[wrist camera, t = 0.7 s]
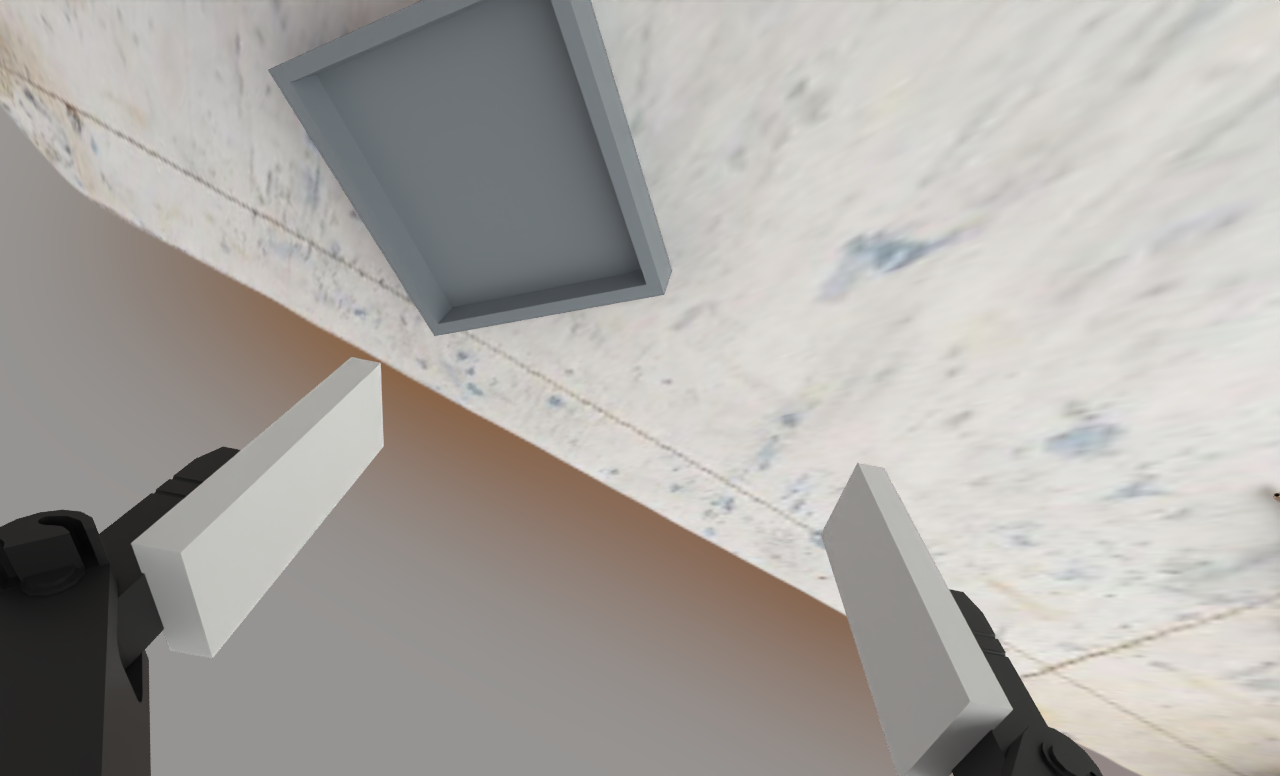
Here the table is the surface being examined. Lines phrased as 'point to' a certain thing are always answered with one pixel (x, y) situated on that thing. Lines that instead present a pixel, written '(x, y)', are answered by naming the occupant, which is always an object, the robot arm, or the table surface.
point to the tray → (486, 158)
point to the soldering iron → (1277, 497)
